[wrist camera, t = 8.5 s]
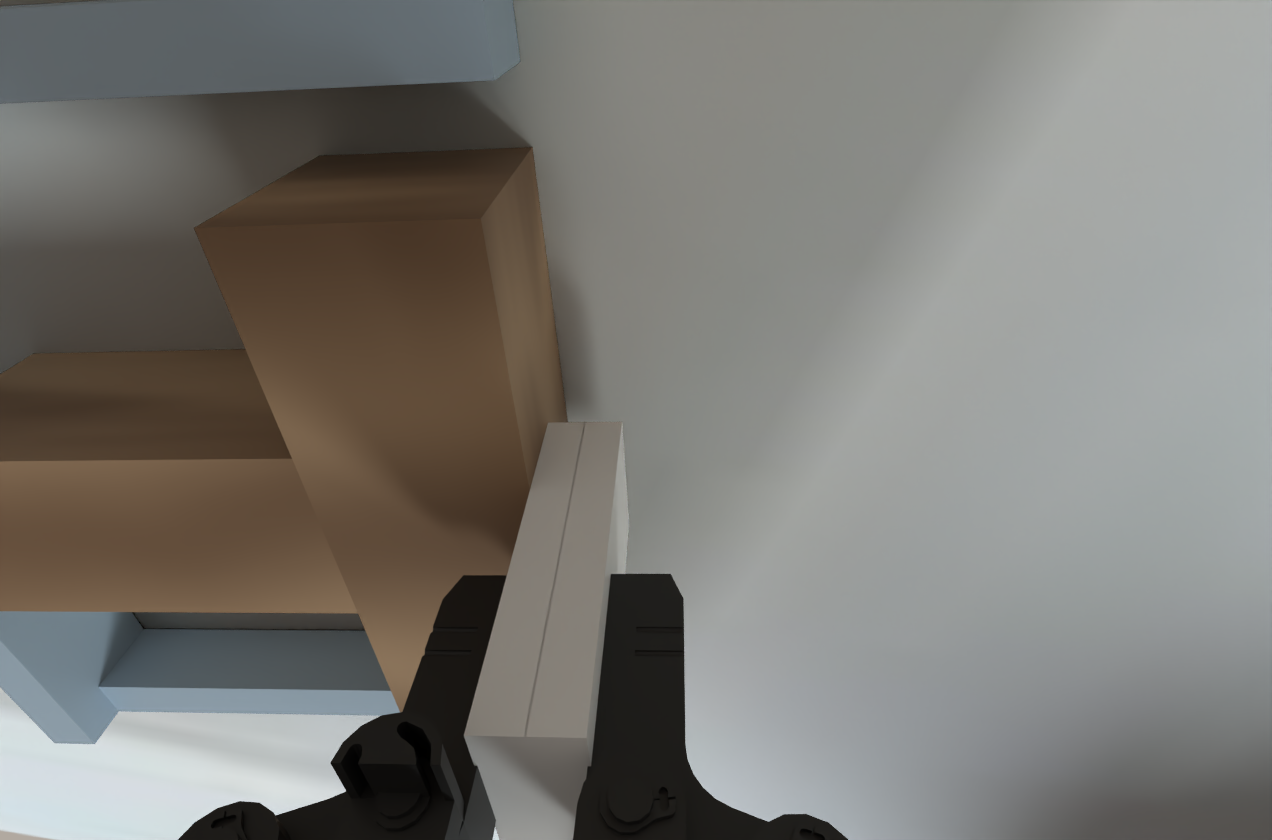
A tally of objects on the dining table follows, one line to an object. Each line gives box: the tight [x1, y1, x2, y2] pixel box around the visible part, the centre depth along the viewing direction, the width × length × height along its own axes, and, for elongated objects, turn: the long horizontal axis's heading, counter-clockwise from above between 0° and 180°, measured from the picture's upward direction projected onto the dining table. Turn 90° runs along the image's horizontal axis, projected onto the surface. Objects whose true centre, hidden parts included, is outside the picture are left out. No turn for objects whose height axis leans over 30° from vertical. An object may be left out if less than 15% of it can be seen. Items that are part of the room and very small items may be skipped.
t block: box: [0, 147, 568, 712], centre depth 14 cm, size 12×12×4 cm
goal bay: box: [0, 0, 520, 744], centre depth 15 cm, size 17×15×3 cm
